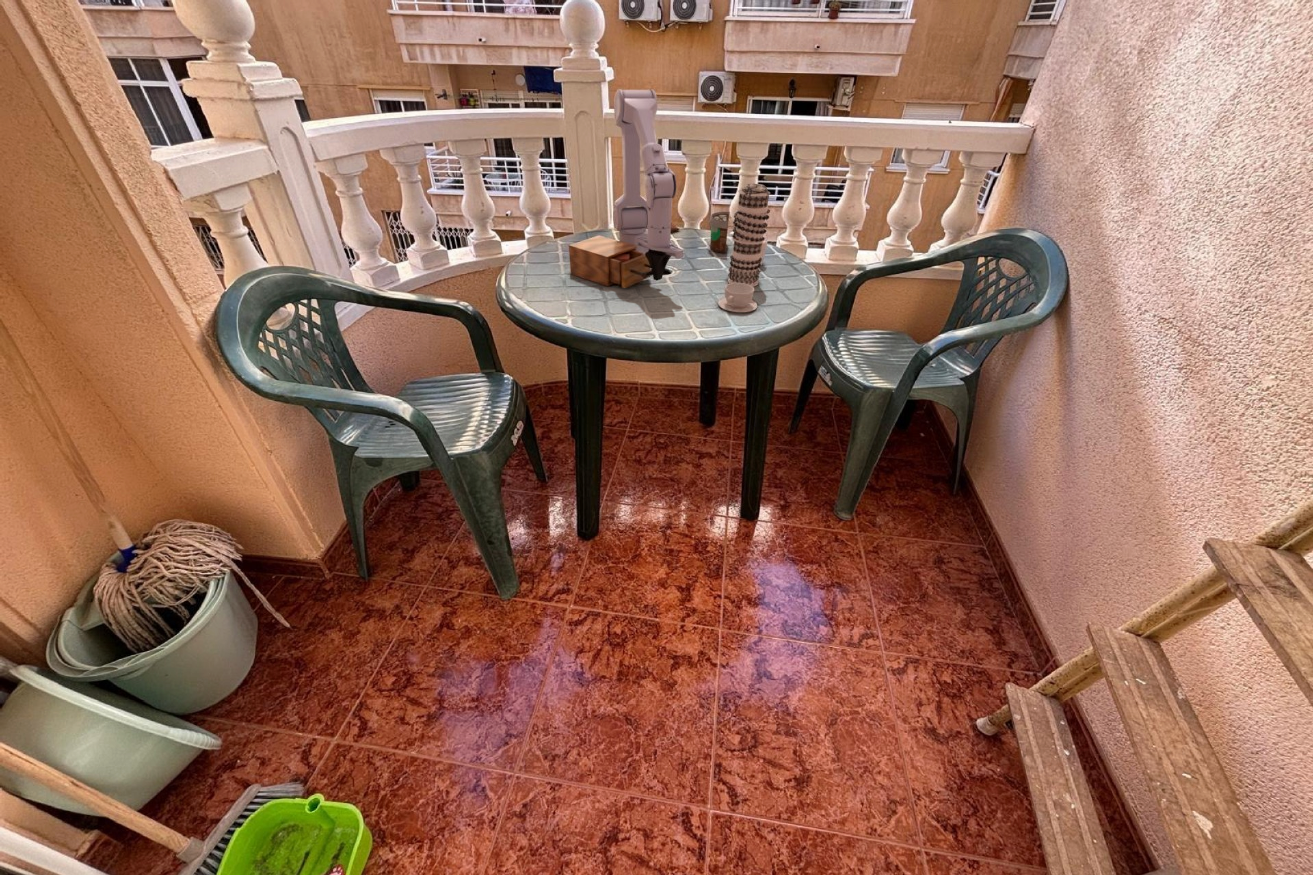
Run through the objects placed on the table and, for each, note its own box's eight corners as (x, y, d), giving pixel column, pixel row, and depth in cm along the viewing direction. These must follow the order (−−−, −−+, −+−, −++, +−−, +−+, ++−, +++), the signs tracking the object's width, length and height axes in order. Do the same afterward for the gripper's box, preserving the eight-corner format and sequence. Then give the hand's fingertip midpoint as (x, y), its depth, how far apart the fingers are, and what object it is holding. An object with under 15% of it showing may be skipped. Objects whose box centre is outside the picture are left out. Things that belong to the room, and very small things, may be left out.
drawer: (666, 281, 146) (667, 258, 142) (641, 293, 139) (641, 269, 135) (614, 265, 155) (614, 243, 151) (588, 276, 148) (587, 252, 144)
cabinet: (636, 274, 152) (636, 246, 147) (607, 286, 144) (607, 256, 139) (599, 262, 159) (598, 235, 154) (570, 273, 151) (568, 245, 146)
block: (615, 270, 149) (615, 253, 146) (629, 271, 149) (629, 254, 146) (614, 276, 145) (613, 258, 142) (628, 276, 145) (628, 259, 142)
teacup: (729, 295, 141) (731, 278, 139) (763, 304, 137) (766, 287, 134) (710, 307, 135) (712, 289, 132) (745, 317, 130) (748, 299, 128)
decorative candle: (765, 286, 147) (780, 189, 132) (734, 289, 145) (746, 190, 130) (751, 274, 154) (764, 181, 139) (721, 277, 152) (731, 182, 137)
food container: (707, 241, 178) (710, 210, 172) (726, 242, 177) (729, 211, 171) (705, 253, 168) (708, 220, 162) (725, 254, 167) (728, 221, 161)
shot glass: (737, 261, 163) (740, 237, 159) (756, 258, 165) (759, 235, 161) (749, 268, 158) (752, 244, 154) (768, 266, 160) (772, 242, 156)
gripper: (692, 228, 131) (688, 282, 139) (648, 216, 138) (647, 268, 146) (673, 234, 126) (671, 289, 135) (629, 222, 134) (629, 274, 142)
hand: (657, 279), depth 140 cm, fingers closed
